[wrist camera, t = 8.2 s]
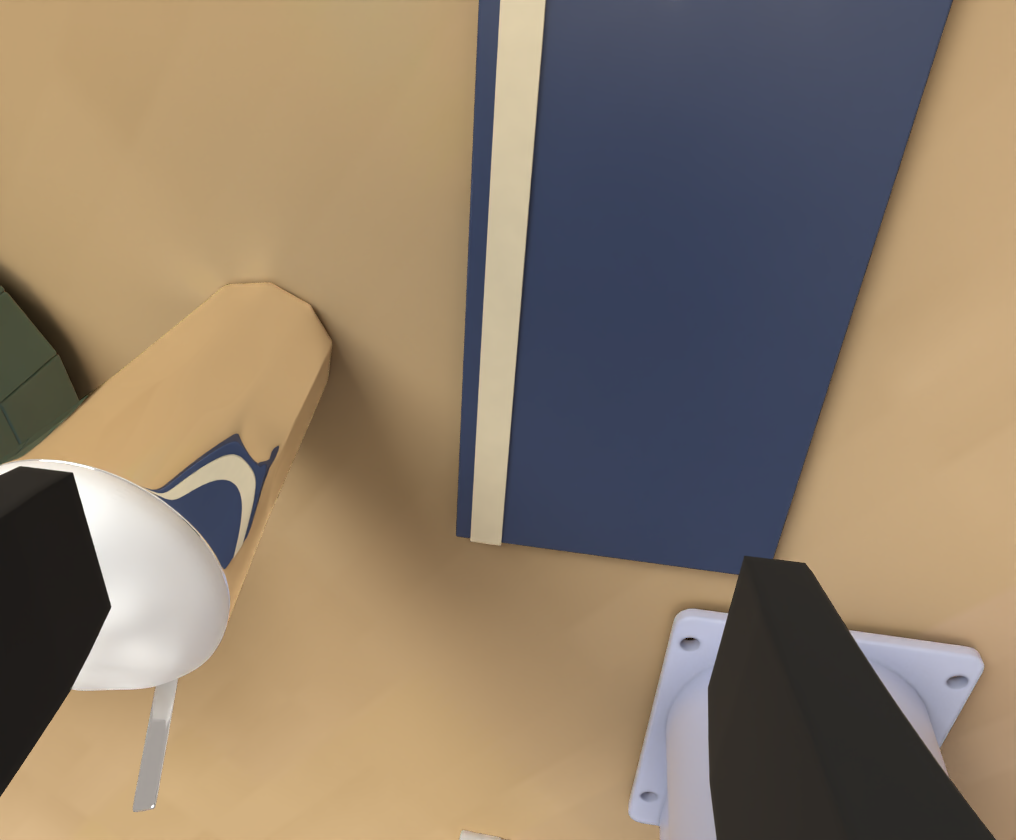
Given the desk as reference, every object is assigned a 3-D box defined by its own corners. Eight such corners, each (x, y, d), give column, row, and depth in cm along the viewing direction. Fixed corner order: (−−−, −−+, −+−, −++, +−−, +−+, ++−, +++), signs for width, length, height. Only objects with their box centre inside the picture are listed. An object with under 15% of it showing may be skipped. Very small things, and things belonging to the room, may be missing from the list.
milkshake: (258, 468, 22) (35, 829, 14) (134, 290, 20) (-223, 603, 12) (410, 420, 21) (262, 792, 13) (297, 223, 18) (22, 523, 10)
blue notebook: (765, 568, 22) (767, 581, 22) (458, 527, 23) (454, 539, 22) (983, -119, 14) (994, -118, 13) (488, -158, 14) (484, -159, 14)
